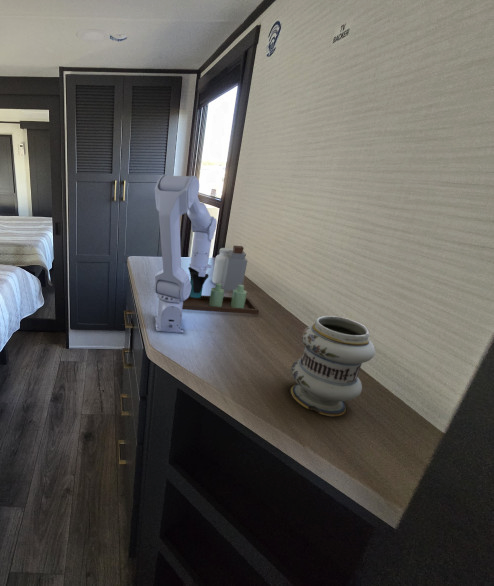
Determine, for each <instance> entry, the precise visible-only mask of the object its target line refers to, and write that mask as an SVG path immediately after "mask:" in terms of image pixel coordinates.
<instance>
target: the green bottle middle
mask: <svg viewBox="0 0 494 586" xmlns="http://www.w3.org/2000/svg"><path fill="white" fill-rule="evenodd" d="M221 286H222V284H219V283H216V284H214V287H211V289H210V294H209V296H210V300H209V306H216V307H222V302H223V297H225V296H224V295H225V290H224V289H223V288H222V287H221Z"/></svg>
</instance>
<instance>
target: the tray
mask: <svg viewBox="0 0 494 586" xmlns="http://www.w3.org/2000/svg"><path fill="white" fill-rule="evenodd" d="M209 300H210V295H201V297H200V298H193V297H190V296H189V297H188V298H187V299H186V300H185V301H183V307H182V310H185V311H199V312H202V311H203V312H216V313H230V314H231V313H234V314H235V313H236V314H248V315H249V314H250V315H259V312H260V311H259V309H258V307H257V306H256V305H255V304H254V303H253V302H252V300H251V299H250V298H249V297H246V300H245V305H244V308H232V307H231V306H230V305H231V300H232V296H223V302H222V307H216V306H209Z"/></svg>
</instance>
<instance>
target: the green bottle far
mask: <svg viewBox="0 0 494 586" xmlns="http://www.w3.org/2000/svg"><path fill="white" fill-rule="evenodd" d="M247 294H248V291H247V290H245V285H244V284H243V285H238V288H237V289H234V290H233V291H232V296H231V297H232V300H231V305H230V306H231V307H232V308H244V305H245V300H246V298H247Z"/></svg>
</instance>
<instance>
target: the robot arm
mask: <svg viewBox="0 0 494 586" xmlns="http://www.w3.org/2000/svg"><path fill="white" fill-rule="evenodd" d="M199 191H200V180H199V179H198V177H197V176H196V175H166V174H162V175H161V176H160V177H159V178H158V179H157V181H156V185H155V187H154V196H155V197H154V198H155V199H154V200H155V209H156V210H157V212H158V218H159V219H158V221H159V233H160V234H159V235H160V245H161V260H162V268H160V269H159V270H158V271H157V272H156V273H155V275H154V283H153V290H154V292H155V294H157V295H156V297H157V298H158V306H157V307H158V308H157V316H155V317H154V319H155V329H156V330H155V331H156V332H163V333H164V332H165V333H179V334H183V333H184V332H185V331H184V328H182V320H183V319H182V318H183V309H182V307H183V301H185V300H186V299H187V298H188V297H189V295H190V292H191V283H190V279H191V278H192V279H193V291H194V293H200V291H201V289H202V290H203V288H202V286H203V287H204V284H205V282H206V281H207V279H208V278H209V276H210V275H209V274H208V273H207V270H208V269H211V268H212V265H211V264H209V259H210V253H211V246H212V240H213V239H214V236H215V232H216V229H217V224H218V223H217V221H218V220H217V219H216V218H215V216H211V214H210V212H209V210H208V208H207V206H206V205H205V202H200V198H199V196H198V195H199ZM185 214H187V217H188V218H189V220H190V221H191V231H192V232H193V241H192V249H191V257H190V263H189V267H187V268H188V269H187V270H188V271H189V274H188V273H187V271H185V269H184V268H182V253H181V252H182V250H181V249H182V247H181V223H180V222H181V221H180V220H181V219H180V217H181V216H182V215H185Z"/></svg>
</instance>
